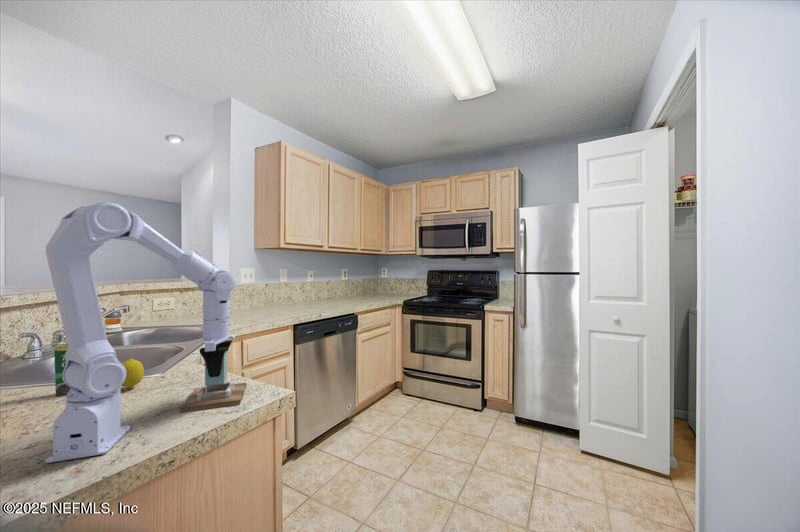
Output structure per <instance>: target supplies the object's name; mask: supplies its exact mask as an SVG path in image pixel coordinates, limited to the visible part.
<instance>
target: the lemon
mask: <svg viewBox="0 0 800 532" xmlns="http://www.w3.org/2000/svg"><path fill="white" fill-rule="evenodd" d="M121 364H123V365H124V367H125V369H126V372H127V373H126V379H125V381H124V383H123V384H122V386H121V387H124V388H127V389H128V390H129V389H133V388H134V387H135V386H136V385H138V384H139V383H140V382H141V381H142V380H143V378H144V375H145V369H144V365H143V364H142V362H140V361H139V360H137V359H133V358H128V359H127V360H126V361H124V362H121Z"/></svg>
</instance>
